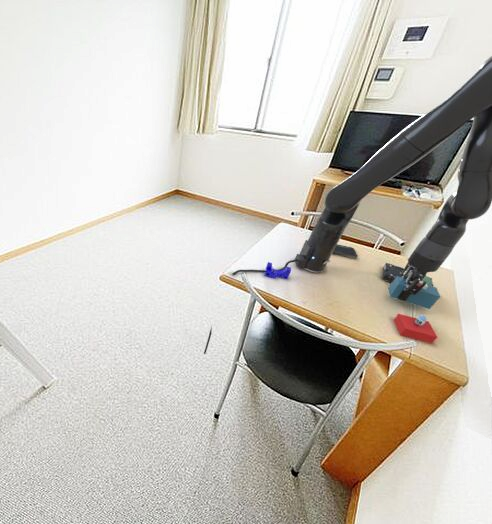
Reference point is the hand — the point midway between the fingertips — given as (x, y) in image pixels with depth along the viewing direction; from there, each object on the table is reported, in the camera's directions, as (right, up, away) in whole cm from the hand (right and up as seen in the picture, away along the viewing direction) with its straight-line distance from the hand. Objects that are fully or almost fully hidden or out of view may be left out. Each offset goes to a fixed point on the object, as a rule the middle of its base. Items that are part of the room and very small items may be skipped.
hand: (399, 294), depth 102 cm
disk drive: (+12, +4, +12) cm, 17 cm away
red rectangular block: (-5, -10, -10) cm, 15 cm away
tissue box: (+2, -1, -1) cm, 3 cm away
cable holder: (-38, +6, +9) cm, 39 cm away
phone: (-4, +16, +27) cm, 32 cm away
